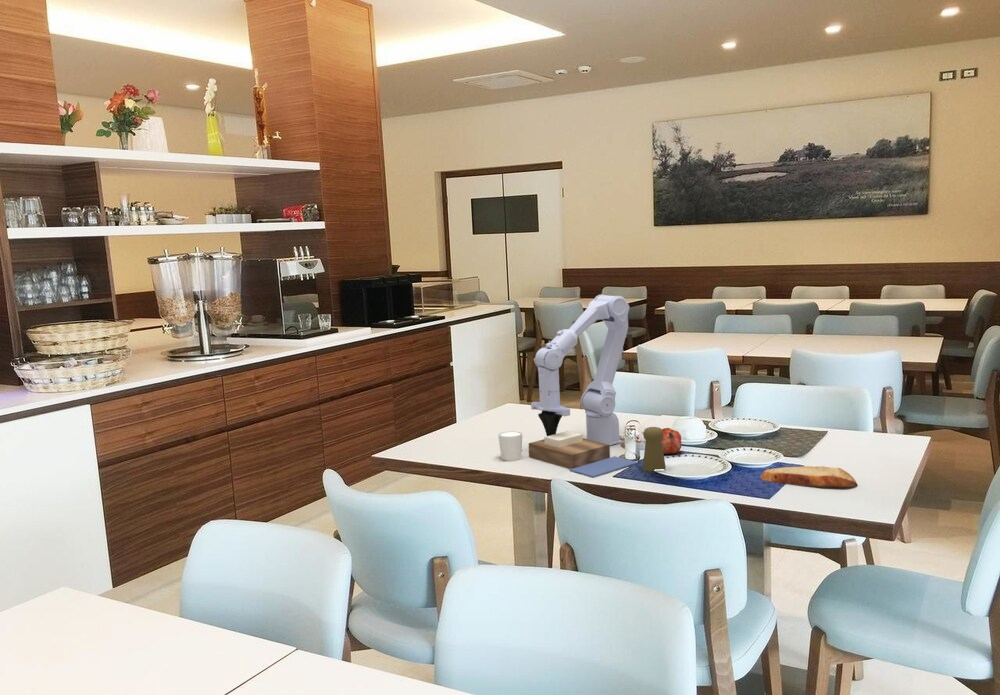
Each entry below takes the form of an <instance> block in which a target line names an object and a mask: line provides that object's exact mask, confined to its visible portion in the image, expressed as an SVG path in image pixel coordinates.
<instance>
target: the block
mask: <svg viewBox="0 0 1000 695" xmlns="http://www.w3.org/2000/svg"><path fill="white" fill-rule="evenodd" d="M583 438H584V437H583V434H582V433H577V432H574V431H568V430H566V431H563V432H558V433H556V434H554V435H550V436H547V435H546V436H544V442H545V444H547V445H550V446H554V447H558V448H560V447H564V446H567V445H571V444H575V443H578V442H582V441H583Z"/></svg>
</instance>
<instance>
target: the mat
mask: <svg viewBox="0 0 1000 695" xmlns="http://www.w3.org/2000/svg"><path fill="white" fill-rule="evenodd" d="M638 464H639V462H638V461H635V460H631V459H626V458H623V457H619V456H610V458H607V459H604V460H600V461H597V462H594V463H590V464H587V465H583V466H580V467H577V468H573V469H569V472H572V473H576V474H579V475H581V476H582V475H583V476H585V477H589V478H593V479H594V478H596V477H599V476H603V475H607V474H609V473H614V472H616V471H619V470H622V469H626V468H629V467H633V466H635V465H638Z"/></svg>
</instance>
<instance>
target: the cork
mask: <svg viewBox="0 0 1000 695" xmlns="http://www.w3.org/2000/svg"><path fill="white" fill-rule="evenodd" d="M662 429H663V428H661V427H658V426H647V427H646V428H645V429H644V430H643V439H644V440H645V442H644V445H645V446H644V453H643V460H642V461H643V463H642V470H643V471H646V472H650V473H652V471H653V473H655V472H654V470H655V469H665V468H666V469H667V467H666V460H665V454H664V453H663V447H662V439H663V430H662ZM666 469H665V470H666Z"/></svg>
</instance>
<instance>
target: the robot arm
mask: <svg viewBox="0 0 1000 695" xmlns="http://www.w3.org/2000/svg"><path fill="white" fill-rule="evenodd" d="M630 308H631V307H630V305H629V303H628V302H627V300H626V299H625V297H624V296H622V295H606V294H601V293H600V294H598V295H596V296H595V297H594V299H593V300H591V301H590V302H589V303H588V306H587V308H586V309H585V310H584V312H582V313H581V314H580V316H579V317H578V318H577V319H576V320H575V322H574V323H573V324H571V326H570V327H569V328H567V329H566V328H563V329H562V330H558V331H557V333H556V336H555V337H554V338H553V339H552V340H551V341H550V342H548V343H546V344H545V347H543V348H539V349H538V350H537V352H536V353H535V357H534V358H533V362H534V364H535V366H536V367H537V372H538V388H539V390H538V391H539V401H532V402H531V403H530V408H531V410H533V411H534V410H537V411H541V412H540V413H538V414H537V417H538V418H539V419H540V421H541V423H542V426H543V427H544V432H545V435H546V436H550V435H554V434H557V431H558V426H559V423H560V421H561V419H562V417H569V416H571V408H568V407H566V406H564V405H561V398H560V397H561V395H560V393H561V392H560V373H559V372H560V371H559V370H560V369H559V368H561V366H562V365H563V362H564V361H563V360H564V358H565V357H566V356H567V355H568V354H569V352H571V350H572V349H574V347H576V345H577V344H578V337H580V336H581V335H582V334H583V333H584V332H585V331H587V329H589V327H591V326H592V325H593V324H594V323H595V322H596V321H600V320H602V322H604V324H605V326H606V327H607V333H606V335H605V336H606V337H605V340H604V344H603V347H602V350H601V354H600V357H599V361H598V364H597V365H598V366H597V369H596V372H595V376H594V378H593V380H592V381H591V382H589V383H588V384H587V387H586V389H585V391H584V393H582V395H581V398H580V405H581V407H582V408H583V410H585V411H584V413H585V421H586V422H585V425H586V439H588V440H593V441H597V442H601V443H605V444H610V446H613V445H617V444H620V443H622V440H620V423H619V418H618V416H617V414H616V413H614V411H615V408H616V395H617V391H616V389H615V387H614V386H613V385H614V384H613V382H614V380H615V376H616V372H617V369H618V366H619V362H620V360H621V356H622V351H623V348H624V344H625V341H626V339H627V338H626V337H627V334H628V330H629V311H630Z"/></svg>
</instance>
